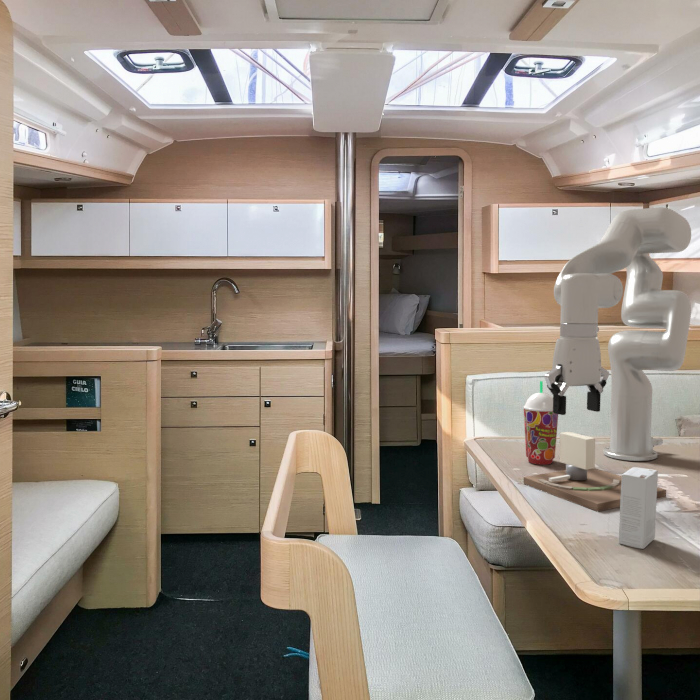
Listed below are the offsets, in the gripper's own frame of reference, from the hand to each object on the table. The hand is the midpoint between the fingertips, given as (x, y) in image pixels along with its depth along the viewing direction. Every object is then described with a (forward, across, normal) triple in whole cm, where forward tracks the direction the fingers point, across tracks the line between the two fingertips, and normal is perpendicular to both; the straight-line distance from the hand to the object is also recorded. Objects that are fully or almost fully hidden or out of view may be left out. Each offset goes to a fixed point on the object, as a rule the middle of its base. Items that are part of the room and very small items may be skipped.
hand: (576, 412), depth 144 cm
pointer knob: (+14, +2, 0) cm, 14 cm away
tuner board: (+16, -1, +4) cm, 17 cm away
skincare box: (+17, +14, +29) cm, 36 cm away
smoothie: (+16, -8, -19) cm, 26 cm away
